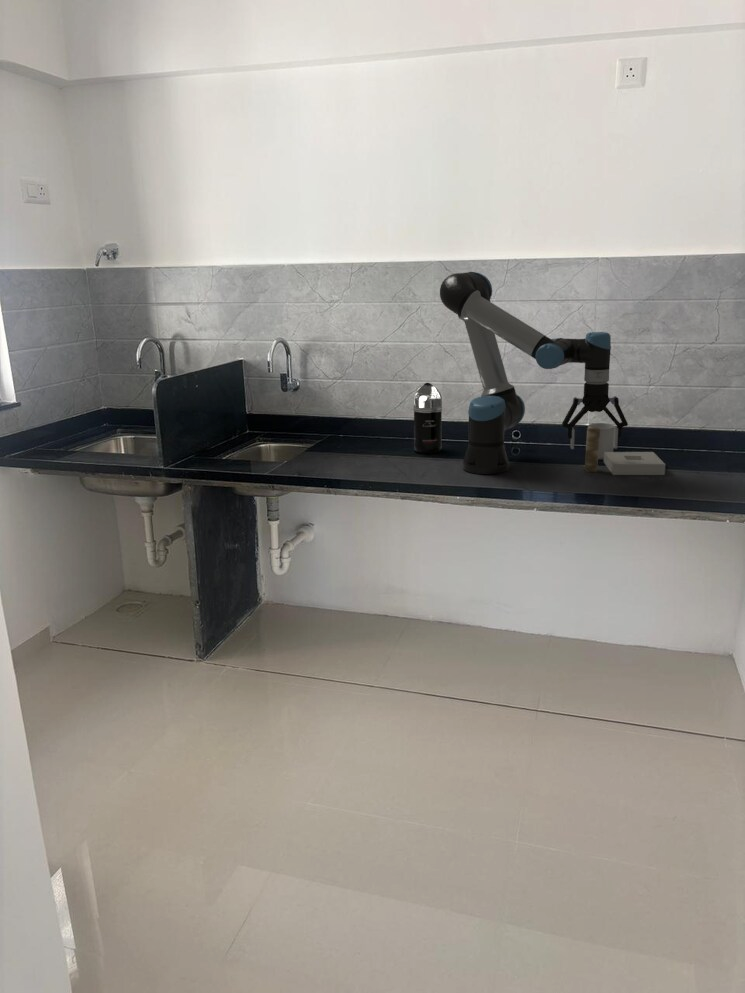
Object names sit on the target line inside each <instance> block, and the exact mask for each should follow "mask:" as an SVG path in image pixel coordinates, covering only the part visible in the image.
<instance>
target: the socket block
mask: <svg viewBox="0 0 745 993" xmlns="http://www.w3.org/2000/svg"><path fill="white" fill-rule="evenodd" d="M603 463H604V465H605V466H606V468H607V469H608V470H609V472H610V473H611V474H612V475H613V476H665V474H666V463H665V462H664V461H663V460H662V459H661V458H660V457H659V456H658V455H657V454H656V453H655V452H654V451H613V452H604V460H603Z"/></svg>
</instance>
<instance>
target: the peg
mask: <svg viewBox="0 0 745 993" xmlns="http://www.w3.org/2000/svg"><path fill="white" fill-rule="evenodd" d="M599 437H600V428H596V427H589V428H588V427H587V428H586V442H585V455H584V457H585V458H584V459H585V461H584V471H585V472H587V473H596V472H598V468H599V466H598V465H599V464H598V463H599V460H598V453H599Z"/></svg>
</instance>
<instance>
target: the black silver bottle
mask: <svg viewBox="0 0 745 993" xmlns="http://www.w3.org/2000/svg"><path fill="white" fill-rule="evenodd" d="M441 394H442V393H441V392H440V391H439V389H438V388H437V387H435V386H434V385H433V384H432V383H430V382H425V383H424V384H422V386H420V387H419V388H418V389H417V390H416V391H415V392H414V395H413V437H414V438H413V444H414V446H413V448H414V451H416V452H417V453H420V454H426V453H429V454H435V453H438V452H440V451H441V450H442V438H443V437H442V435H443V434H442V427H443V426H442V422H443V421H442V410H443V405H442V404H443V401H442V400H443V396H442V395H441Z"/></svg>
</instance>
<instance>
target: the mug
mask: <svg viewBox="0 0 745 993" xmlns="http://www.w3.org/2000/svg"><path fill="white" fill-rule="evenodd" d="M589 427H596V428H600V437H599V453H598V461H604V452H614V450H615V448H614V447H613V440H614V427H616V425H614V424H612V423H604V422H603V423H601V422H596V423H589V424H588V426H587V428H589Z"/></svg>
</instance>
